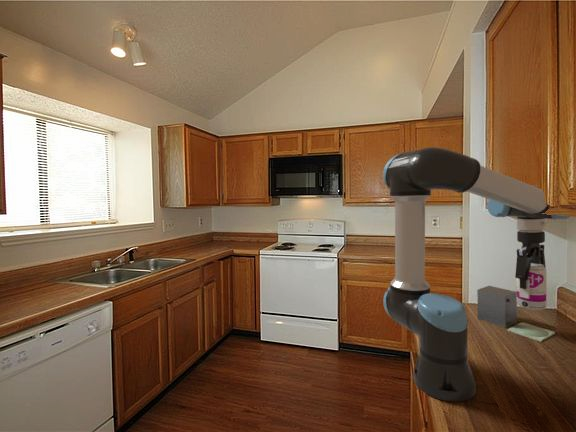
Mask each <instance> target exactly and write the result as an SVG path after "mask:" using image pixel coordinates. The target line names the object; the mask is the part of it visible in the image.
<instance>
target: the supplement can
mask: <svg viewBox="0 0 576 432" xmlns="http://www.w3.org/2000/svg"><path fill="white" fill-rule="evenodd" d="M515 279H516V288H515V289H516V290H515V291H516V292H517V306H519V307H520V308H523V309H527V310H532V311H543V310H544V309H546V308H547V269H545V267H544V265H542V264H534V263H531V266H530V271H529V276H528V279H529V280H530V298H529V299H528V298H523V297H519V278H516V277H515Z"/></svg>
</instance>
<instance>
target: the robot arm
mask: <svg viewBox="0 0 576 432" xmlns="http://www.w3.org/2000/svg"><path fill="white" fill-rule="evenodd" d="M382 180H383V182H384V184H385V185H386V187H387V188H388V189H389V198H391V200H392V201H394V204H395V205H394V208H395V209H394V233H395V234H394V244H395V245H394V251H395V252H394V263H395V264H394V275H395V276H394V278H393V279H392V280H391V281H390V284H389V287H388V288H387V291H385V293H384V295H383V307H384V310H385V312H386V314H387V316H389V317H390V318H391V319H392V320H393V321H394V322H395V323H396V324H397V325H398V324H399V325H401V326H402V327H404V328H405V329H407V330H408V331H410V332H412V333H413V334H415V335H416V336H417V337H418V338H419V341H418V342H419V343H418V344H419V353H418V355H417V359H416V363H415V365H414V368H413V381H414V384H415V385H416V387H417V388H418V389H419V390H421V391H422V392H423V393H424V394H426V395H428V396H430V397H432V398H434V399H438V400H441V401H444V402H451V403H452V402H454V403H457V402H460V403H462V402H466V401H469V400H471V399H472V398H473V397H475V395H476V392H477V391H476V390H477V389H476V387H477V386H476V385H477V383H476V380H475V378H474V375H473V372H472V369H471V366H470V363H469V361H468V324H469V323H468V317H467V309H466V307H465V305H464V304H463V303H462V302H461V301H459V300H458V299H456V298H454V297H452V296H451V295H447V294H441V293H435V292H434V293H433V292H432V293H431V284H430V283H428V282H427V280H426V278H425V277H426V276H425V275H426V202H427V201H428V200H429V198H430V197H432V191H433V190H446V191H453V192H455V193H459V194H462V193H463V194H464V193H466V192H468V193H470V194H473V195H476V196H478V197H482V198H484V199H488V201H487V204H486V206H487V207H486V208H487V212H488V213H489V214H490V215H491V216H493V217H496V218H505V217H516V230H518V231H516V232H517V233H516V238H517V242H518V243H521V244H522V245H521V248H520V249H518V248H517V249H516V263H515V265H516V266H515V279H516V278H519V297H523V298H528V299H529V298H530V280H529V279H528V276H529V271H530V266H531V263H534V264H542V265H544V267H545V269H546V258H545V244H543V243H545V242H546V233H545V230H546V229H545V228H546V227H545V226H546V224H547V222H546V221H545V219H548V220H549V219H550V220H555V221H556V220H568V219H571V217H570V216H557V215H547V214H542V213H545V212H546V211H547V210H548V209H549V207H548V206H547V205H546V204H545V195H544V192H543V190H542V189H540V188H537V187H535V186H536V185H531V184H528V183H526V182H525V181H522V180H518V179H516V178H514V177H511V176H508V175H505V174H503V173H501V172H499V171H495V170H494V169H490V168H488V167H485V166H482V165H481V163H480V161H479V160H478V159H476V158H473V157H470V156H468V155H466V154H462V153H459V152H457V151H454V150H450V149H447V148H442V147H433V146H431V147H430V146H429V147H425V148H421V149H415V150H411V151H405V152H402V153H398V154H396V155H394V156H392V157H391V158H390V159H389V160H388V161H387V162H386V164H385V165H384V168H383V171H382ZM546 270H547V269H546Z"/></svg>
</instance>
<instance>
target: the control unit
mask: <svg viewBox="0 0 576 432" xmlns="http://www.w3.org/2000/svg"><path fill="white" fill-rule="evenodd" d="M476 291H477V294H476V295H477V320H479V319H481V320H480V321H482V320H484V321H483V322H485V321H487V322H486V323H488V322H490V323H489V324H491V323H494V324H497V325H500V326H503V327H505V328H504V329H507V328H509V327H511V326H513V325H515V324H517V323H518V304H517V291H516V290H515V291H514V290H510V289H506V288H501V287H496V286H492V285H487V286H483V287H481V288H479V289H477V290H476ZM516 322H517V323H516ZM514 323H515V324H514ZM494 324H493V325H494ZM512 324H513V325H512ZM497 325H496V326H497ZM510 325H511V326H510ZM500 326H499V327H500ZM508 326H509V327H508ZM503 327H502V328H503ZM506 327H507V328H506Z"/></svg>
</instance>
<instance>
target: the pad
mask: <svg viewBox="0 0 576 432" xmlns="http://www.w3.org/2000/svg"><path fill="white" fill-rule="evenodd" d="M507 331H508V332H510V331H511V332H510V333H513V334H516V335H520V336H522V337H526V338H527V339H531V340H534V341H537V342H542V341H545V340H547V339H548V338H550V337H552V336H554V335H555V334H556V332H555V331H554V330H553V331H552V330H550V329H546V328H543V327H539V326H536V325H533V324H530V323H527V322H520V323H516V324H514V326H513V325H512V327H511V326H510V327H508V328H507Z"/></svg>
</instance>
